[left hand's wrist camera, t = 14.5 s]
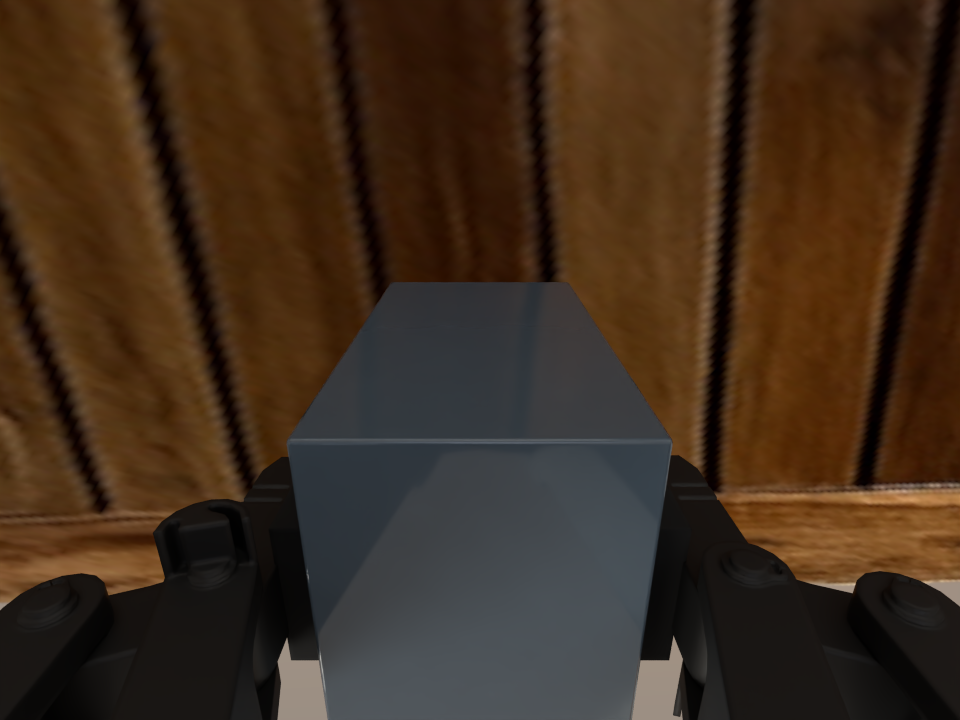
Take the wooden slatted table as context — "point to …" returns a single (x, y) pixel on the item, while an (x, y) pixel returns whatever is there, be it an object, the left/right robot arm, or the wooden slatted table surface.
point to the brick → (479, 510)
